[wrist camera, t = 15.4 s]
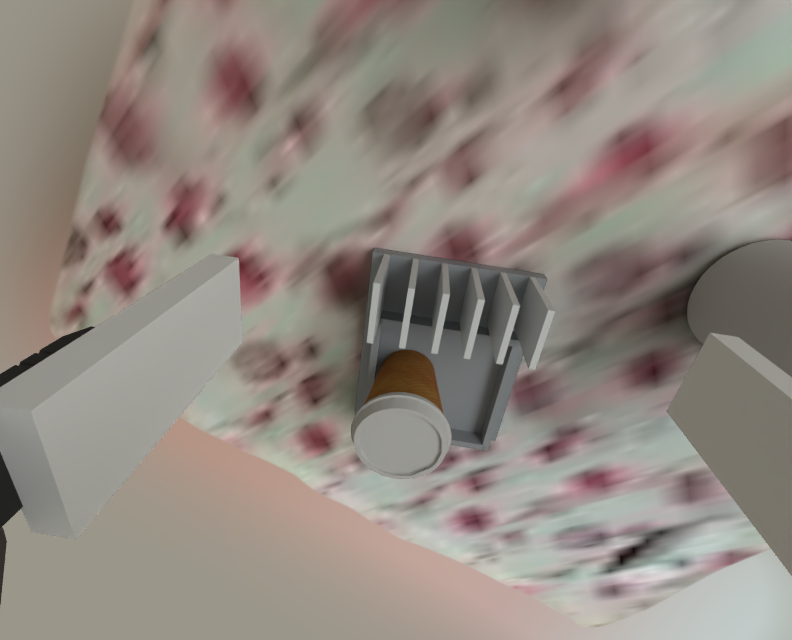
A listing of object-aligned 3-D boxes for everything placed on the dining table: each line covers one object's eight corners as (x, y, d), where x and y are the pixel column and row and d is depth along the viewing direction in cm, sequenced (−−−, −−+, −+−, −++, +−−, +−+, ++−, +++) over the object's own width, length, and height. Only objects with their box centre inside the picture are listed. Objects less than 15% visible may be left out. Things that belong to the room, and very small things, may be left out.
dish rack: (493, 432, 54) (504, 493, 45) (356, 410, 54) (341, 465, 45) (544, 274, 43) (569, 313, 35) (374, 247, 44) (359, 280, 35)
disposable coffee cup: (371, 404, 51) (354, 481, 41) (364, 337, 47) (343, 403, 36) (448, 405, 50) (451, 484, 40) (448, 336, 46) (452, 404, 35)
